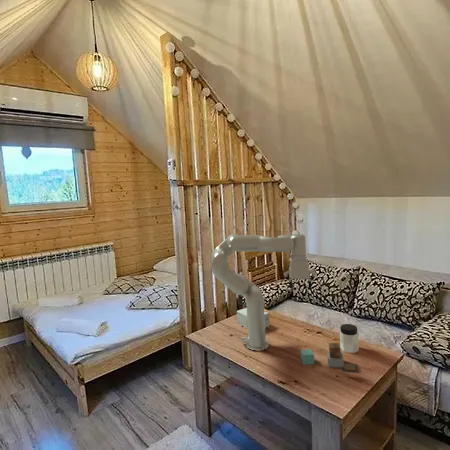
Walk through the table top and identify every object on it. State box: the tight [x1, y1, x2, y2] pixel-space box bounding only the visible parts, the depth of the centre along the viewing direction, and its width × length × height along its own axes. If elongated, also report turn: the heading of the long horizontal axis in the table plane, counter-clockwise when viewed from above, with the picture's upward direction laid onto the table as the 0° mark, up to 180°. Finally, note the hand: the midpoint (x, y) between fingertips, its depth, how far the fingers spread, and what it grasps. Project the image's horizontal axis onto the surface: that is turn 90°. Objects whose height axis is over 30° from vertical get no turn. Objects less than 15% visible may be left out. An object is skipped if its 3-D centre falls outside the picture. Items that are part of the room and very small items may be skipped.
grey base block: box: [326, 351, 345, 368], centre depth 157 cm, size 7×7×4 cm
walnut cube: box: [328, 342, 342, 358], centre depth 156 cm, size 5×5×5 cm
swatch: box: [341, 362, 360, 373], centre depth 152 cm, size 7×7×1 cm
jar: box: [339, 323, 360, 354], centre depth 169 cm, size 9×8×12 cm
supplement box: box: [236, 307, 271, 328], centre depth 206 cm, size 17×13×9 cm
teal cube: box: [300, 349, 315, 365], centre depth 160 cm, size 5×5×5 cm
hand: (300, 288), depth 178 cm, fingers open, 9 cm apart
